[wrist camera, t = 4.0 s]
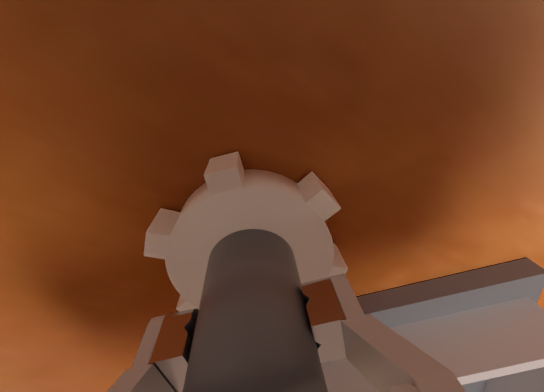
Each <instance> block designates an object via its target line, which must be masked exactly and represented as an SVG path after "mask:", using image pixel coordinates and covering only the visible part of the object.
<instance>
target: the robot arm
mask: <svg viewBox="0 0 544 392" xmlns="http://www.w3.org/2000/svg"><path fill="white" fill-rule="evenodd" d="M301 288H302V292H303V296H304V301H305V305H306V308H307V313H308V317H309V321H310V325H311V329H312V333H313V337H314V341H315V342H316V346H317V350H318V354H319V358H320V362H321V363H322V362H328V361H333V360H338V359H343V358H347V360H348V361H349V362H350V363H351V364H352V365H353V366H354V367H355V368H356V369H357V370H358V371H359V372H360V373H361V374H362V375H363V376H364V377H365V378H366V379H367V380H368V382H369V383H370V384H371V385H372V386H373V387H374V388H375V389H376V390H377V391H378V392H466V391H465V390H464V388H463V387H462V385H461V384H460V382H459V381H458V379H457V378H456V376H455V375H454V373H453V372H452V371H451V370H449V369H448V368H446V367H445V366H444V365H442V364H441V363H439V362H438V361H436V360H435V359H433V358H432V357H431V356H429V355H428V354H426V353H425V352H423V351H422V350H420V349H419V348H418V347H416V346H415V345H413V344H412V343H410V342H409V341H407V340H406V339H405V338H403V337H402V336H400V335H399V334H397V333H396V332H394V331H393V330H392V329H390V328H389V327H387V326H386V325H384V324H383V323H381V322H380V321H379V320H377V319H376V318H374V317H373V316H371V315H370V314H368V315H364V313H363V310H362V308H361V306H360V304H359V302H358V300H357V298H356V296H355V294H354V292H353V289H352V287H351V285H350V283H349V281H348V279H347V277H346V275H345V274H344V273H343V274H338V275H334V276H330V277H325V278H321V279H317V280H313V281H309V282H305V283H301ZM198 311H199V310H198V309H190V310H185V311H181V312H176V313H171V314H167V315H162V316H157V317H153V318H152V319H151V320H150V321H149V323H148V325H147V328H146V331H145V333H144V336H143V338H142V341H141V343H140V346H139V349H138V351H137V354H136V356H135V359H134V362H133V364H132V367H131V369H127V370H125V372H124V373H123V374H122V375H121V376H120V377H119V378H118V379H117V381H116V382H115V383H114V384H113V385H112V386H111V387H110V388H109V389H108V391H107V392H183V387H184V382H185V376H186V371H187V366H188V361H189V356H190V351H191V346H192V341H193V336H194V331H195V326H196V321H197V316H198Z"/></svg>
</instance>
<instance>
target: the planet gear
mask: <svg viewBox="0 0 544 392" xmlns="http://www.w3.org/2000/svg"><path fill="white" fill-rule="evenodd" d="M203 176H204V178H205V181H206V182H205V183H204V184H202V185H201V186H200V187H199V188H197V189H196V190H195V191H194V192H193V193H192V194H191V195H190V197H189V198H188V199H187V201H186V202H185V204H184V205H183V208H182V210H181V212H177V211H173V210H168V209H163V208H160V210H159V211H158V213H157V215H156V216H155V218H154V219H153V221H152V223H151V224H150V226H149V228H148V229H147V231H146V237H145V246H144V255H143V256H147V257H153V258H159V259H165V265H166V270H167V273H168V276H169V278H170V281H171V283H172V284H173V286H174V287H175V289H176V290H177V292H178V293H179V294H180V297H179V300H178V304H177V307H176V310H178V311H180V312H181V311H185V310H190V309H198V310H199V311H198V316H197V321H196V326H195V331H194V336H193V341H192V346H191V351H190V356H189V361H188V366H187V371H186V376H185V382H184V387H183V392H328V390H327V386H326V382H325V378H324V374H323V370H322V366H321V362H320V358H319V354H318V350H317V346H316V342H315V341H314V337H313V333H312V329H311V325H310V321H309V317H308V313H307V308H306V305H305V301H304V296H303V292H302V288H301V283H305V282H309V281H313V280H317V279H321V278H325V277H330V276H334V275H338V274H343V273H344V274H346V272H347V271H348V268H347V266H346V264H345V262H344V260H343V258H342V256H341V254H340V252H339V250H338V248H337V246H336V244H333V240H332V236H331V234H330V231H329V229H328V227H327V225H326V223H325V221H326V220H327V219H328V218H330V217H331V216H332V215H334V214H335V213H336V212H338V211H339V210H340V209H341V207H340V205H339V204H338V202H337V201H336V199H335V198H334V196H333V195H332V193H331V192H330V190H329V189H328V188H327V187H326V186H325V184H324V183H323V182H322V181H321V180H320V179H319V178H318V177H317V176H316V175H315V174H314V173H313V172H312V171H311V172H310V173H309V174H308V175H307V176H306V177H304V178H303V179H302V180H301V181H300V182H299V183H296V182H295V181H293V180H292V179H290V178H288V177H285V176H283V175H281V174H278V173H275V172H271V171H266V170H258V169H244V168H243V165H242V161H241V158H240V155H239V151H238V152H234V153H229V154H225V155H221V156H217V157H213V158H210V160H209V162H208V165H207V167H206V170H205V172H204V175H203Z"/></svg>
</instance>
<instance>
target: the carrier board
mask: <svg viewBox="0 0 544 392" xmlns="http://www.w3.org/2000/svg"><path fill="white" fill-rule="evenodd" d="M543 286H544V269H543V268H541V267H540V266H538V265H537V264H536V263H534V262H533V261H531V260H530V259H528V258H524V259H519V260H515V261H511V262H506V263H502V264H498V265H493V266H489V267H485V268H480V269H476V270H472V271H467V272H463V273H458V274H454V275H450V276H445V277H441V278H437V279H432V280H428V281H424V282H419V283H415V284H411V285H406V286H402V287H398V288H393V289H389V290H385V291H380V292H376V293H372V294H367V295H363V296H359V297H356V298H357V300H358V302H359V304H360V306H361V308H362V310H363V313H364V315H368V314H370V315H371V316H373V317H374V318H376V319H377V320H379V321H380V322H381V323H383V324H384V325H386V326H387V327H389V328H390V329H392V330H393V331H394V332H396V333H397V334H399V335H400V336H402V337H403V338H405V339H406V340H407V341H409V342H410V343H412V344H413V345H415V346H416V347H418V348H419V349H420V350H422V351H423V352H425V353H426V354H428V355H429V356H431V357H432V358H433V359H435V360H436V361H438V362H439V363H441V364H442V365H444V366H445V367H446V368H448V369H449V370H451V371H452V372H453V373H454V375H455V376H456V378H457V379H458V381H459V382H460V384H461V385H462V387H463V388H464V390H465V391H466V392H544V309H543V308H541V307H540V306H539V305H538V304H537V301H538V299H539V296H540V293H541V291H542V288H543ZM321 366H322V370H323V374H324V378H325V382H326V386H327V390H328V392H378V391H377V390H376V389H375V388H374V387H373V386H372V385H371V384H370V383H369V382H368V380H367V379H366V378H365V377H364V376H363V375H362V374H361V373H360V372H359V371H358V370H357V369H356V368H355V367H354V366H353V365H352V364H351V363H350V362H349V361H348V360H347V358H343V359H338V360H333V361H328V362H322V363H321Z"/></svg>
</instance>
